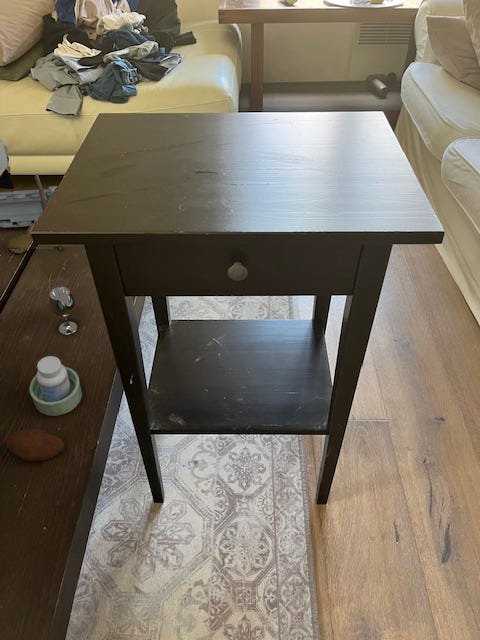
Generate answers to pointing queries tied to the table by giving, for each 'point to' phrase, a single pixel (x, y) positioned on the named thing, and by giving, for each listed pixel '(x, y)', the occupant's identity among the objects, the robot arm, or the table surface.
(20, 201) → the toy train
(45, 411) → the dish
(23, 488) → the table surface
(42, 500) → the table surface
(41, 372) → the pill bottle
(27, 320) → the table surface
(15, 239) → the potato
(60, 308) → the wineglass
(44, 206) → the natural artifact
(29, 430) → the potato
